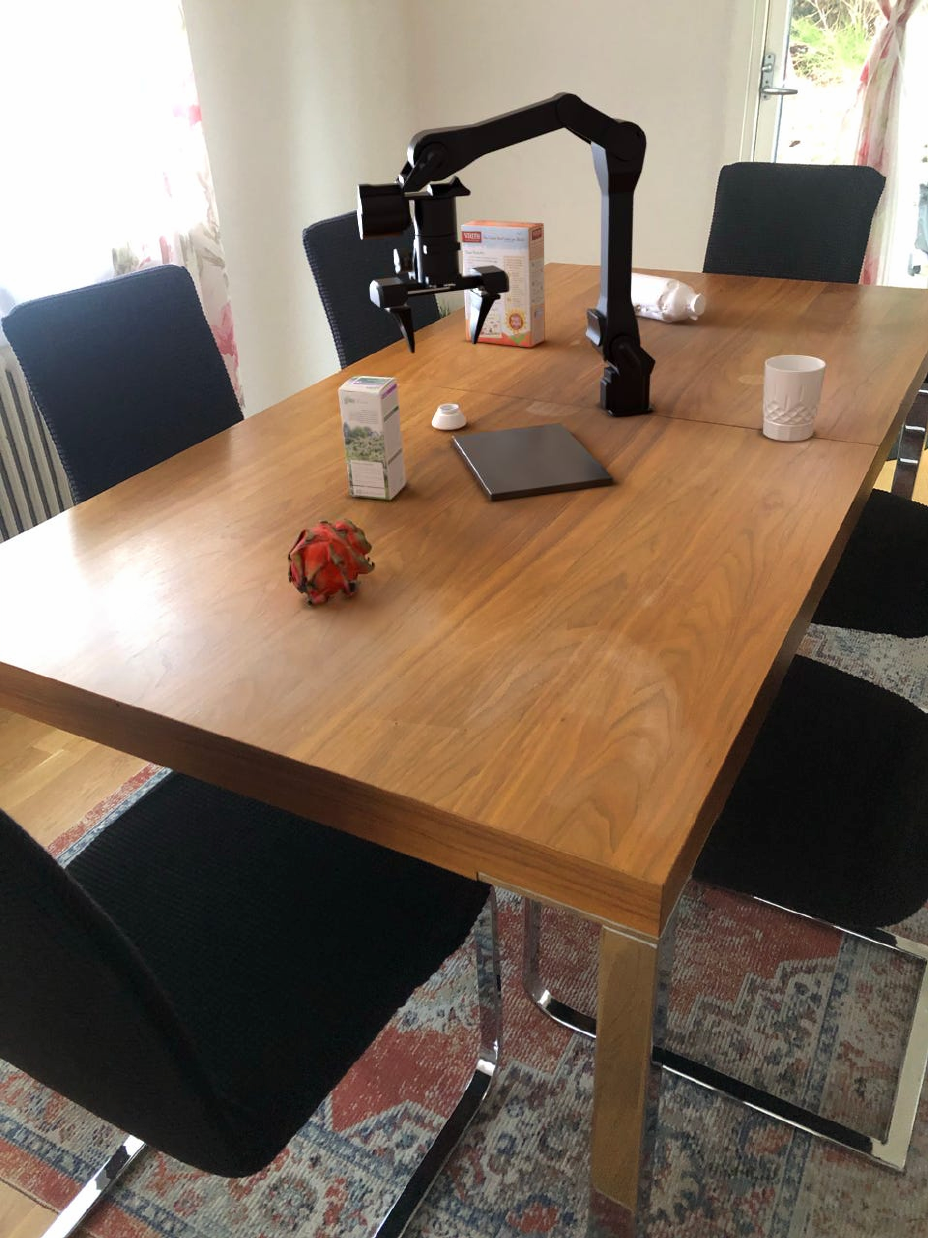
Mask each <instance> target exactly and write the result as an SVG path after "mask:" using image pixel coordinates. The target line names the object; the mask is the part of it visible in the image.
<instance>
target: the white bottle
mask: <svg viewBox="0 0 928 1238" xmlns="http://www.w3.org/2000/svg"><path fill="white" fill-rule="evenodd" d="M631 299H632V303H633V307H634V310H635V314H636V317H642V318H646V319H652V320H656V321H662V322H665V323H669V324H670V323H675V322H680V321H685V320H686V319H688V318H690V319H691V320H694V321H697V320H698V319H699V316H701V315H703V313H705V309H706V307H707V299H706V297H705V296H704V295H703V293H702V292H700V293H698V294H697V293H696V292H695V290H694V288H693V287H692V286H690V285H688V284H685V283H684V282H682V281H680V280H678V279H675V278H671V277H670V278H669V277H662V276H657V275H650V274H645V273H637V272H634V271H632V286H631Z"/></svg>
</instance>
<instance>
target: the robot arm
mask: <svg viewBox="0 0 928 1238" xmlns="http://www.w3.org/2000/svg"><path fill="white" fill-rule="evenodd" d="M561 129H562V130H563V129H566V130H567V131H568V132H570V134H572V135H574V136H576V137H577V138H578V139H580V140H581V141H583V142H585V143H586V144H588V145H590V148H591V155H592V161H593V167H594V171H595V176H596V179H597V182H598V186H599V189H600V209H601V210H600V282H599V283H600V286H599V287H600V292H599V298H598V301H597V304H596V306H595V308H586V318H587V319H586V320H587V329H586V332H585V336H586V337H587V338H588V339H589V340H590V344H591V347H592V348H593V350H595V351H596V352H597V353H598V354H599V355H600V356H601V357H602V360H603V363H605V364H607V365H608V366H605V367H603V377H602V378H601V379H600V380H599V381H600V382H599V385H600V386H599V401H598V402H599V403H598V405H600V407H601V408H602V409H604V410H605V411H606V412H607V413H608V414H609V415H610V416H612V417H623V416H630V415H638V414H646V413H652V412H654V407H653V406H651V405H650V394H651V393H650V392H651V375H652V373H653V371H654V368H655V366H656V359H654V357H652V356H651V355H650V354H649V353H648V352H647V351H646V350H645V349H644V348H643V347H642V345H641V344H642V343H641V335H640V327H639V321H638V316H637V315H636V314H635V310H634V307H633V303H632V299H631V286H632V272H633V240H634V239H633V238H634V202H635V201H634V200H635V199H634V197H635V191H636V188H637V186H638V183H639V180H640V177H641V175H642V172H643V168H644V162H645V159H646V157H645V156H646V151H647V145H648V143H647V135H646V133H645V131H644V130H643V128H641V126H640V125H639V124H637V123H636V122H634V121H631V120H626V119H622V118H616V117H611V116H609V115H608V114H606V113H604V112H602V111H601V110H599V109H597V108H595V107H594V106H592V105H591V104H588V103H587V102H585V101H584V100H583V99H582V98H581V97H580V96H579V95H577V94H575V93H572V92H568V91H567V92H566V91H561V92H557V93H555V94H553V96H551V97H549V98H546V99H542V100H540V101H536V102H534V103H530V104H528V105H524V106H522V107H518V108H516V109H513V110H510V111H506V112H504V113H502V114H499V115H495V116H492V117H490V118H486V119H484V120H480V121H477V122H475V123H471V124H465V125H464V124H463V125H451V126H442V127H435V128H428V129H423V130H421V131H419V132H417V133H416V134H414V135H413V136H412V138H411V140H410V142H409V144H408V146H407V160H406V162H405V164H404V165H403V167H402V169H401V170H400V172H399V173H398V175H397V178H396V179H395V180H394V182H389V183H374V184H373V183H358V184H357V205H358V206H357V207H358V208H356V211H357V212H356V213H357V222H358V229H359V236H360V239H361V240H372V239H383V238H397V237H404V232H405V231H408V228H411V225H412V215H411V206H410V201H412V204H413V205H412V206H413V219H414V232H415V233H414V234H415V239H413V251H412V252H410V248H409V247H398V248H395V249H393V257H394V258H393V259H394V260H393V261H394V267H395V272H396V274H398V275H399V274H406V273H408V278H409V280H410V281H412V282H405V281H403V280H402V279H400V278H399V277H397V276H396V277H387V278H379V279H373V280H372V281H371V283H370V285H369V297H370V301H371V302H372V303H373V304H374V305H376V306H377V307H378V308H379V309H384V310H385V311H387V312H388V313H389V314H392V315H393V316H394V318H395V320H396V322H397V324H398V326H399V328H400V331H401V333H402V335H403V338H404V340H405V343H406V345H407V347H408V350H409V352H410V353H411V354H415V353H416V341H415V333H414V322H413V313H412V307H411V306H409V305H408V304H407V302H408V301H409V298H412V297H421V296H429V295H436V294H437V295H438V294H444V293H451V292H460V291H464V290H468V289H471V290H468V291H469V296H470V301H471V328H470V333H471V341H470V342H471V344H472V345H475V346H476V345H477V343H478V342H477V341H478V338H479V336H480V333H481V330H482V327H483V325H484V322H485V320H486V317H487V315H488V313H489V311H490V309H491V307H492V305H493V303H494V301H495V300H499V299H501V295H500V294H498V293H506V292H509V277H508V274H507V273H506V272H505V271H504V270H502V269H500V268H498V267H496V266H494V265H491V266H483V267H475V268H471V270H470V273H469V275H467V276H464V275H463V273H461V272H460V254H459V252H460V251H461V249H462V246H461V245H462V244H461V242H460V241H459V235H458V234H459V233H458V216H457V215H458V214H457V198H459V197H469V196H470V195H471V194H472V192H471V190H470V189H469V188H467V187H466V186H465V185H464V184H463V183H462V181H461V179H460V178H459V177H458V176H457V175H455V174H457V173H459V172H460V171H461V170H464V169H465V168H467V167H468V166H469V165H471V164H473V163H474V162H475V161H476V160H478V159H480V158H482V157H484V156H485V155H488V154H491V153H494V152H497V151H500V150H502V149H506V148H509V147H512V146H515V145H518V144H520V143H521V144H522V143H524V142H526V141H529V140H533V139H535V138H538V137H541V136H544V135H548V134H550V133H553V132H556V131H559V130H561ZM451 176H452V178H451V179H450V180H449V181H448V182H440V181H444V180H446V179H447V178H449V177H451ZM431 182H434V183H431ZM435 182H437V183H435ZM425 187H427V189H426V190H425V191H422V190H423V189H424V188H425ZM415 280H416V281H415Z"/></svg>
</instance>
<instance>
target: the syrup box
mask: <svg viewBox="0 0 928 1238" xmlns="http://www.w3.org/2000/svg"><path fill="white" fill-rule="evenodd" d="M398 387H399V385H398V380H397V378H396V377H387V376H386V377H384V376H367V375H355V376H353V377H351V378H349V379H348V380H346V381H345V382H344V383H343V384H342V385H341V386H340V387H339V388H337V391H338V392H337V393H338V401H339V408H340V416H341V425H342V433H343V443H344V452H345V459H346V468H347V476H348V477H347V478H348V484H349V485H348V486H349V493H350V494H349V495H350V497H351V498H361V499H362V498H363V499H372V500H382V501H391V500H392V499H393V498H395V496H397V495H398V494H399V493H400V491H401V490H403V488H405V486H406V484H407V478H406V471H405V461H404V452H403V439H402V427H401V413H400V400H399V399H400V398H399V388H398Z"/></svg>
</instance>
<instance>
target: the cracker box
mask: <svg viewBox="0 0 928 1238" xmlns="http://www.w3.org/2000/svg"><path fill="white" fill-rule="evenodd" d="M461 242H462V243H461V245H462V246H461V249H462V265H463V266H462V268H463V270H462V271H463V276H467V275H469V273H470V270H471V268H475V267H483V266H491V265H494V266H496V267H498V268H500V269H502V270H504V271H505V272H506V273H507V274H508V277H509V292H506V293H498V294H500V295H501V299H499V300H495V301H494V303H493V305H492V307H491V309H490V311H489V313H488V315H487V317H486V320H485V322H484V325H483V327H482V330H481V333H480V336H479V338H478V341H477V343H487V344H496V345H505V346H513V347H521V348H532V347H534V346H537V345H538V344H540V343H542V342H544V341H546V297H545V295H546V292H545V291H546V290H545V288H546V287H545V285H546V284H545V223H543V222H525V221H508V220H485V219H484V220H483V219H482V220H481V219H479V220H478V219H475V220H473V221H470V222H467V223H463V224H461ZM468 290H471V289H468ZM468 290H463V292H464V309H465V310H464V312H465V333H466V340H467V341H469V342H471V333H470V328H471V301H470V296H469V291H468Z"/></svg>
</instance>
